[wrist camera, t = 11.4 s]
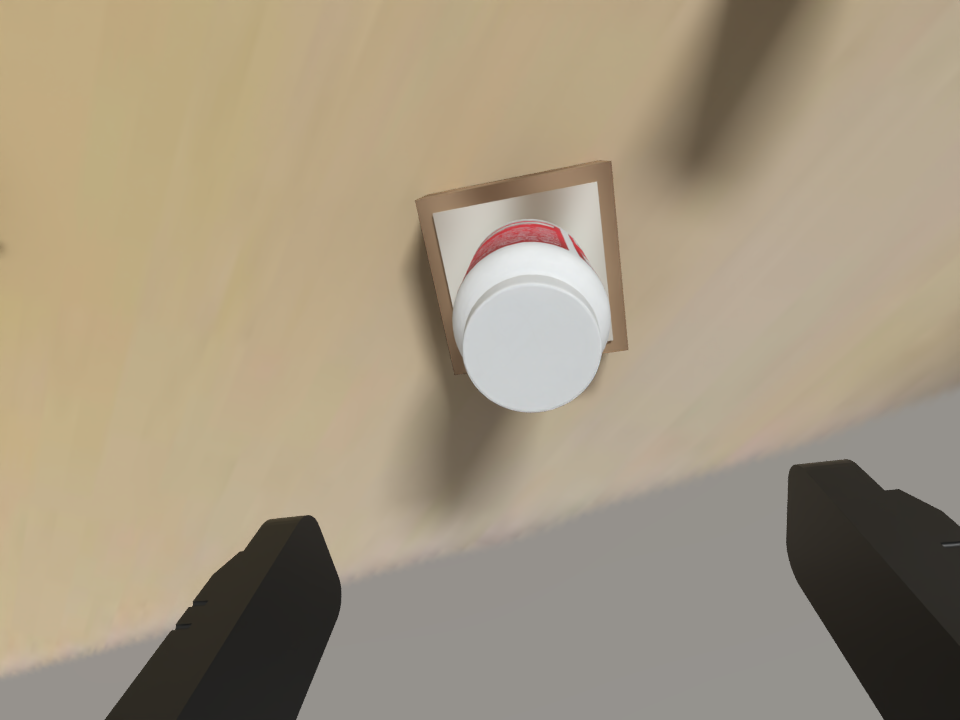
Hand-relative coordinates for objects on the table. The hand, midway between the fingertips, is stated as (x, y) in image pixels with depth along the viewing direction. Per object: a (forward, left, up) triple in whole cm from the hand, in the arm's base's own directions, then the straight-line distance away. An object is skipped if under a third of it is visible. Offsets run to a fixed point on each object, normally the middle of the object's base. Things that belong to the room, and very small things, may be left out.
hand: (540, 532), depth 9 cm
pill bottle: (0, 0, -20) cm, 20 cm away
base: (0, 0, -24) cm, 24 cm away
